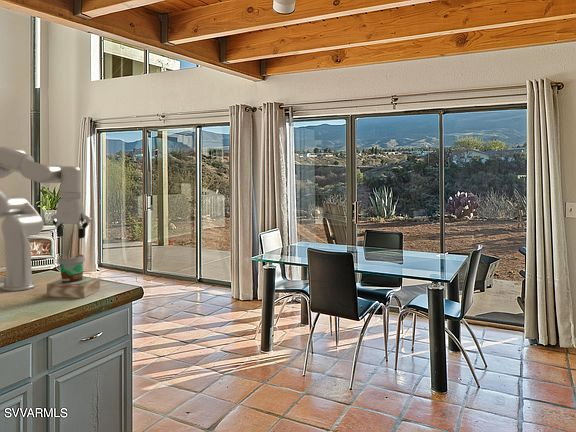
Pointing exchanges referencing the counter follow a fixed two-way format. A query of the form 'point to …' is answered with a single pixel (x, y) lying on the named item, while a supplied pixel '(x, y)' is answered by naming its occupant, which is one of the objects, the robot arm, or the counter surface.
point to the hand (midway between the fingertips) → (70, 237)
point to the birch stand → (73, 288)
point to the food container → (72, 269)
